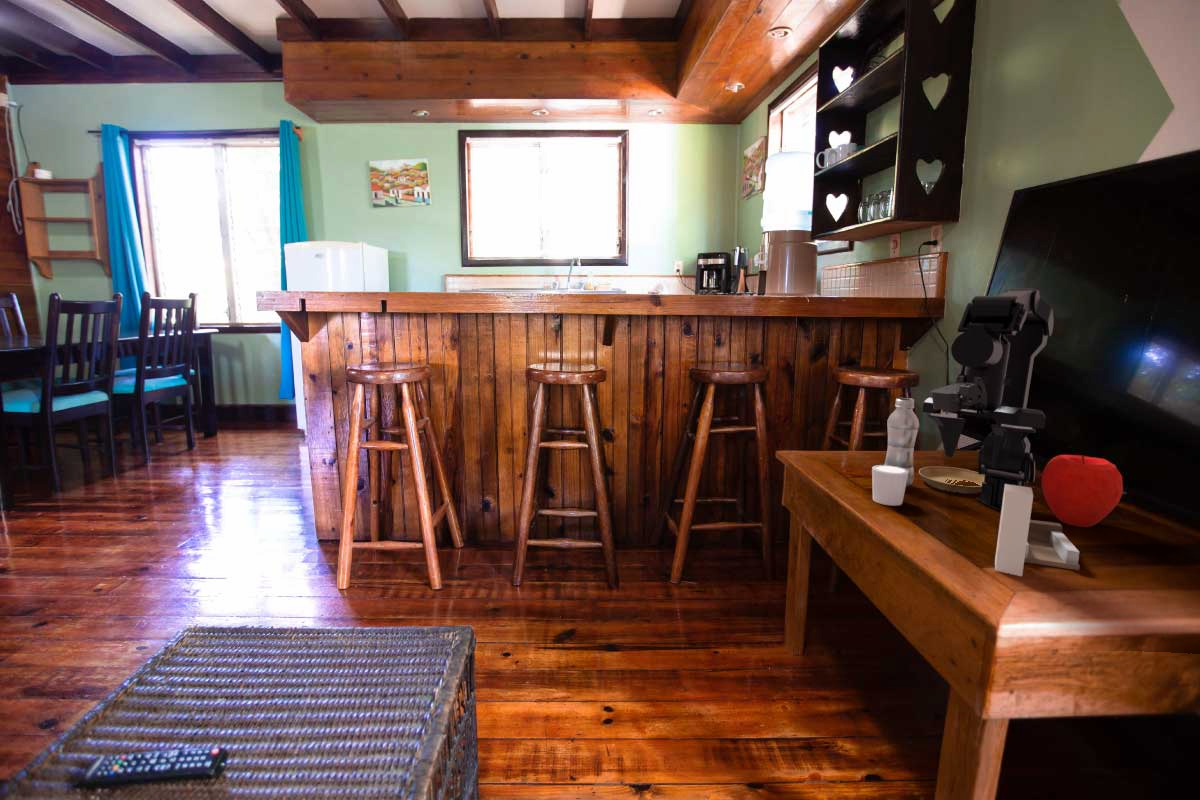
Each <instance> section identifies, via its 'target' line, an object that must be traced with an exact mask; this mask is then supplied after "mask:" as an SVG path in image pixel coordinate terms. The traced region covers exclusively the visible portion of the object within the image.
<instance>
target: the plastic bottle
mask: <svg viewBox="0 0 1200 800" xmlns="http://www.w3.org/2000/svg"><path fill="white" fill-rule="evenodd" d="M894 407H895V410H894V411H893V412H892V413H890V415H889V416H888V419H887V422H886V425H887V450H886V456H885V460H884V464H883V465H890V466H897V467H901V468H904V469H906V470H908V471H909V473H908V478H907V483H906V487H909V486H911V484H912V483H913V482H914V478H915V469H914V452H915V451H914V450H915V448H914V447H915V443H916V439H917V435H918V432H919V428H920V422H919V421H920V420H919V418H918V416H917V414H916V413H915V412H914V410H913V409H914V408H915V399H914V398H909V397H897V398H896V399H895V404H894Z"/></svg>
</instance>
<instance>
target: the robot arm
mask: <svg viewBox="0 0 1200 800" xmlns="http://www.w3.org/2000/svg"><path fill="white" fill-rule="evenodd" d="M1054 320H1055V319H1054V311H1053V307H1052V306H1051V305H1049V303H1048V302H1046V300H1044V299H1042V298H1041V297H1040V290H1039V289H1035V288H1032V287H1031V288H1028V287H1027V288H1010V289H1006V290H1005V291H1004V293H1001V294H999V295H975V296H974V297H973V298H972V299H971V302H968V303H967V304H966V307H965V310H964V311H963V314H962V317H961V319H960V323H959V325H958V327H957V333H959V335H958V336H957V337H956V338H955V339H954V341H953V343H952V344H951V348H950V350H951V351H950V353H951V356H952V358H953V360H954V361H955V362H957V364H959V365H961V366H963V367H965V368H964V369H965V370H964V374H958V376H957V377H956V380H955V381H956V382H955V383H954V384H949V385H946V386H945V385H944V386H941V387H938V388H935V389H933V390H930V391H931V397H928V398H926V399H925V400H924V401H923V405H922V412H921V413H927V415H926V417H928V419H931V420H932V421H933V422H934V423H935V425H936V426H937V428H938V430H939V433H940V437H941V441H942V445H943V450H944V453H945V456H946V457H947V458H953V456H954V454H955V452H956V449H957V447H958V443H959V441H960V437H961V435H962V432H963V430H964V427H965V423H966V418H962V416H970V417H976V418H977V417H978V418H982V419H990V420H994V421H995V422H996V424H990V428H991V429H992V431H991V432H990V433H989V434H987V435H986V436H985V438H984V441H983V445H981V446H980V449H979V452H978V462H977V463H978V464H977V465H978V466H977V467H978V468H977V469H978V470H977V472H978V474H983V475H985V477H984V482H982V488H981V492H980V496H979V497H976V498H975V499H976V501H978V502H980V503H982V504H983V505H986V506H988V507H991V508H992V509H994V510H996V511H1001V509H1002V502H1003V494H1004V486H1005V484H1010V485H1016V486H1023V487H1025V484H1028V483H1034V482H1035V478H1036V476H1035V475H1036V461H1035V459H1033V457H1034V456H1033V453H1032V452H1030V451H1031V442H1030V440H1029V439H1028V437H1027V436H1029V434H1030V433H1032V434H1035V433H1036V429H1043V430H1044V429H1045V425H1046V419H1047V418H1046V415H1045V414H1044V412H1043V410H1040V409H1033V408H1032V409H1031V408H1027V404H1028V401H1029V400H1028V399H1029V393H1030V392H1029V391H1030V386H1031V385H1030V384H1031V380H1032V373H1033V367H1034V362H1035V361H1034V359H1035V357H1036V356H1037V355H1038V354H1039V353H1040V352H1041V351H1042V350H1043V349H1044V348H1046V345H1047V341H1048V337H1051V336H1052V334H1053V330H1054V322H1055V321H1054ZM973 408H974V410H973Z"/></svg>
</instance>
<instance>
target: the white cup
mask: <svg viewBox="0 0 1200 800" xmlns="http://www.w3.org/2000/svg"><path fill="white" fill-rule="evenodd" d="M908 473H909V471H908V470H906V469H904V468H901V467H897V466H890V465H884V464H877V465H873V466H872V467H871V475H872V476H871V477H872V479H871V480H872V483H871V485H872V486H871V488H872V500H873V502H875V503H877V504H881V505H884V506H893V507H894V506H895V507H896V506H902V504H903V502H904V496H905V492H906V488H907V486H906V483H907V478H908Z"/></svg>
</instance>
